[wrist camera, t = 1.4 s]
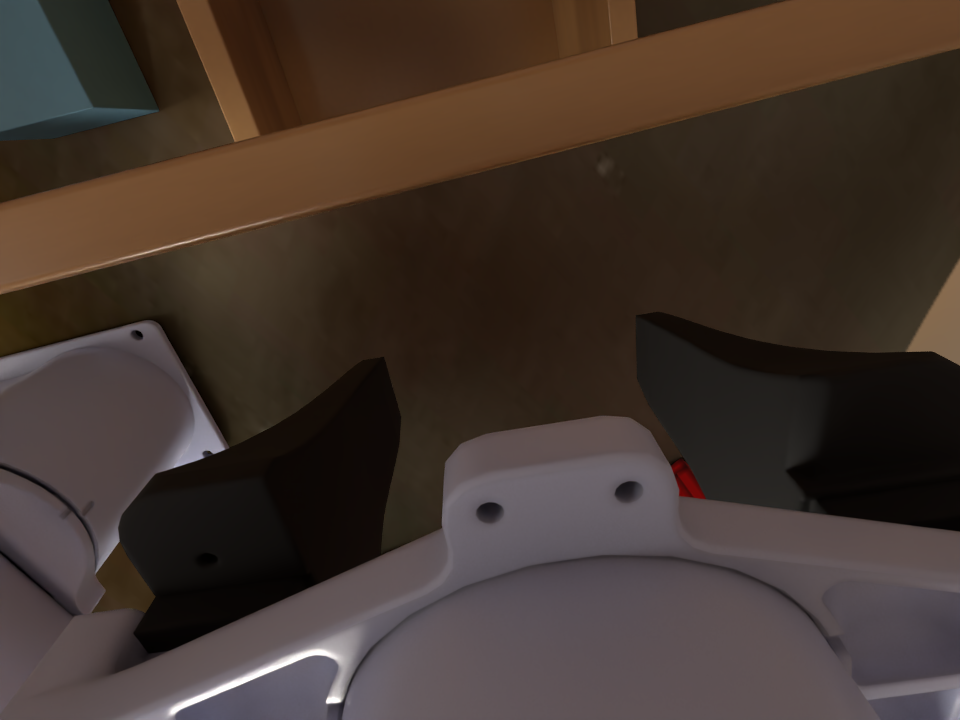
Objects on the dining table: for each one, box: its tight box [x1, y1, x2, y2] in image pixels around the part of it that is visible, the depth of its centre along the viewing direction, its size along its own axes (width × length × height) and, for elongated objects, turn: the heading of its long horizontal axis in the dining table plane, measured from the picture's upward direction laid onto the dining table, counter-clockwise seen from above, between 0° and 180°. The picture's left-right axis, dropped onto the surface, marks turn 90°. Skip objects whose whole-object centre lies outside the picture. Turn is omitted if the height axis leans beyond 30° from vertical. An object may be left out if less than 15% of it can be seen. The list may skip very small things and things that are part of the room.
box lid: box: [0, 0, 960, 294], centre depth 10 cm, size 11×12×1 cm
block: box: [0, 0, 159, 141], centre depth 17 cm, size 4×4×4 cm
